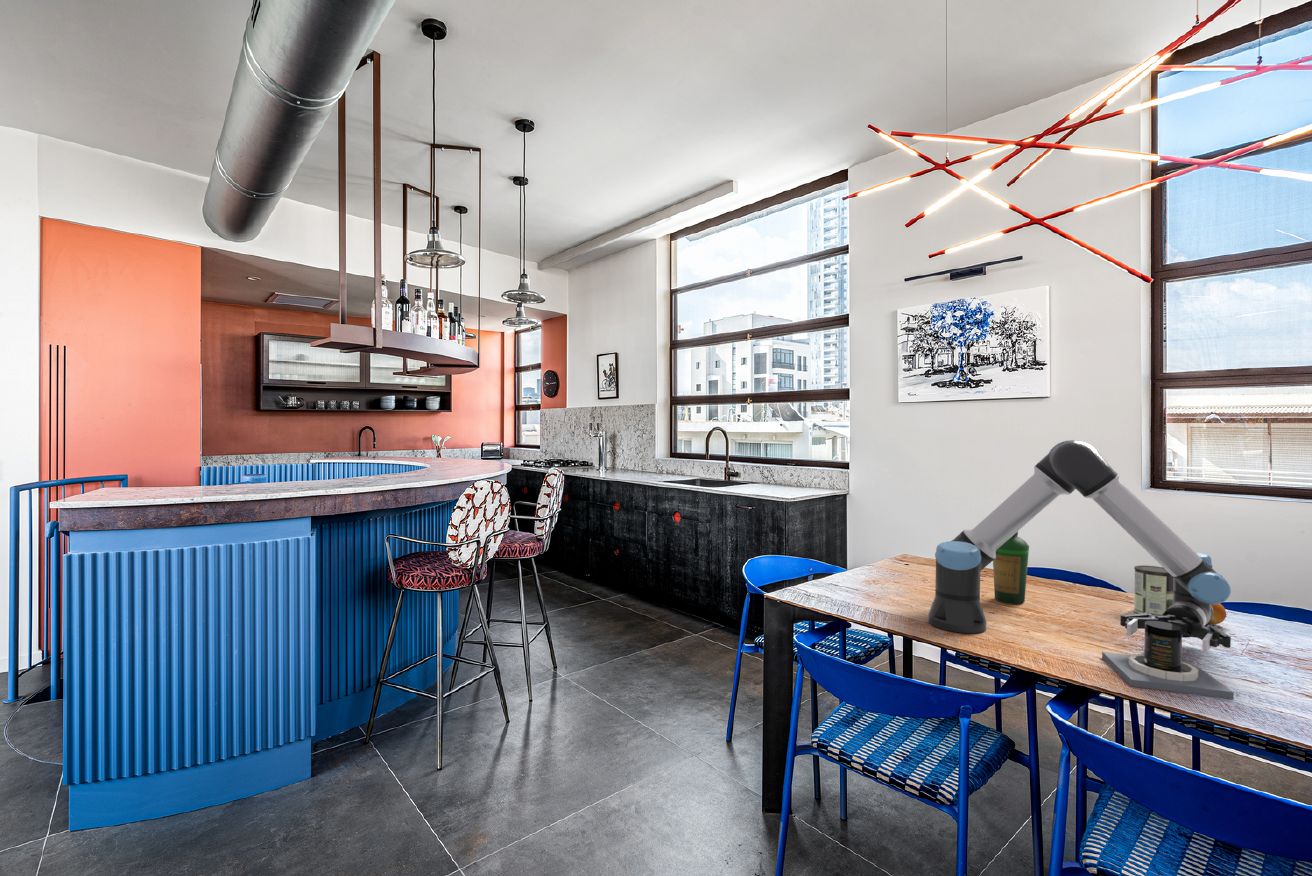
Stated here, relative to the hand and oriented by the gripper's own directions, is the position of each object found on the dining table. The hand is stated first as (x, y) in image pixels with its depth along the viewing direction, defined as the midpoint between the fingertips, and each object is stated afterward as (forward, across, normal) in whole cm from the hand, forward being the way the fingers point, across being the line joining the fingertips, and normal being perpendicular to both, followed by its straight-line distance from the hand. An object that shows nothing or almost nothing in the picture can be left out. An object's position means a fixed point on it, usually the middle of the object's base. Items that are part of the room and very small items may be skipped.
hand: (1165, 637), depth 139 cm
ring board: (0, 0, -9) cm, 9 cm away
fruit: (-60, +1, -9) cm, 61 cm away
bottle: (-40, +47, -9) cm, 62 cm away
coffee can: (-61, +13, -9) cm, 63 cm away
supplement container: (0, 0, -8) cm, 8 cm away
